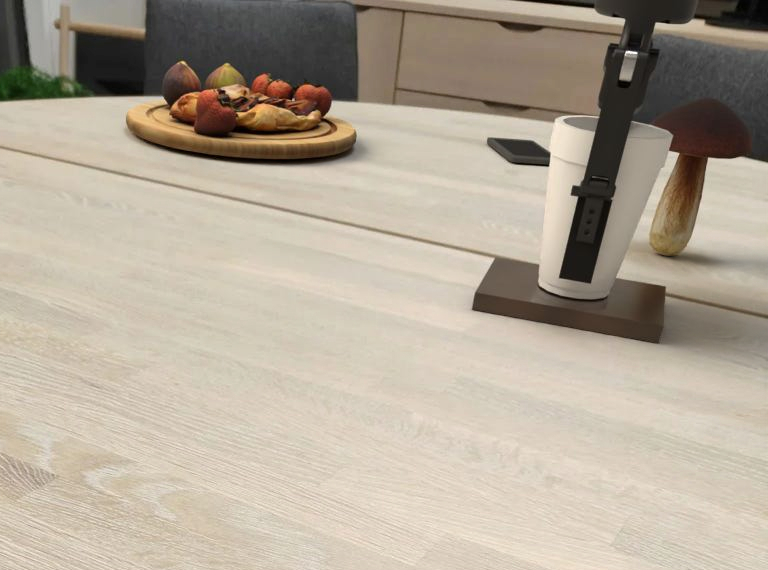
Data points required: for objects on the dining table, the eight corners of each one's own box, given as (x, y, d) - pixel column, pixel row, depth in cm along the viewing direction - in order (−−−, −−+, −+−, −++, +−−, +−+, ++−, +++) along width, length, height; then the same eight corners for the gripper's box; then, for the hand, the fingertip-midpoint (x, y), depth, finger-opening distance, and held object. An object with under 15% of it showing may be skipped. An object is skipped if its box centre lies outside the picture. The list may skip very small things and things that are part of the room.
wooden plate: (282, 177, 122) (287, 101, 117) (77, 132, 133) (74, 61, 128) (392, 143, 144) (401, 78, 140) (209, 107, 156) (211, 46, 151)
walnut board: (661, 302, 93) (666, 286, 92) (658, 343, 84) (664, 325, 83) (492, 273, 96) (495, 257, 95) (471, 309, 87) (474, 292, 86)
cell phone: (531, 145, 151) (532, 139, 151) (560, 165, 140) (562, 160, 140) (485, 142, 150) (486, 136, 150) (510, 162, 139) (511, 156, 139)
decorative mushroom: (671, 274, 101) (722, 109, 92) (591, 244, 108) (630, 88, 99) (738, 264, 106) (791, 107, 97) (657, 236, 113) (700, 87, 104)
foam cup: (607, 313, 84) (654, 144, 76) (505, 287, 87) (540, 123, 80) (638, 287, 91) (684, 130, 83) (542, 264, 94) (577, 111, 86)
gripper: (613, -50, 84) (550, 228, 97) (596, -46, 66) (521, 291, 80) (706, -41, 82) (628, 241, 95) (712, -34, 65) (616, 308, 78)
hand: (579, 264), depth 88 cm, fingers closed on foam cup, 9 cm apart
